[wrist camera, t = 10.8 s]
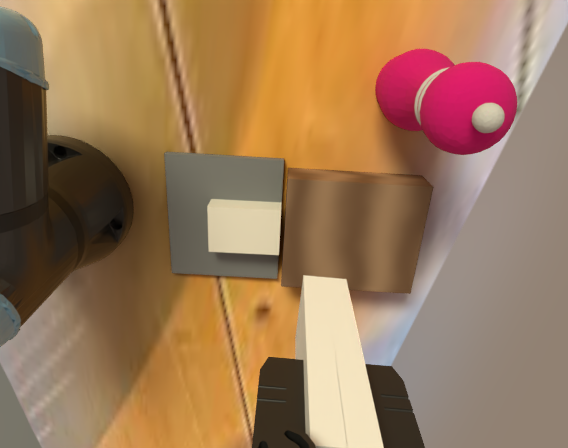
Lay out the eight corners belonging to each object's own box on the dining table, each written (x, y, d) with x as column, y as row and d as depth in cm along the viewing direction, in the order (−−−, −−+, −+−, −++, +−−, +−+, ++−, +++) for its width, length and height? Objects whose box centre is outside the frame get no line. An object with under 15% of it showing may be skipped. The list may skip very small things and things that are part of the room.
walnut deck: (281, 268, 51) (281, 286, 47) (288, 167, 46) (288, 178, 42) (401, 275, 51) (410, 293, 48) (421, 175, 46) (433, 187, 42)
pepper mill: (437, 120, 43) (545, 177, 25) (369, 123, 44) (426, 182, 25) (444, 45, 41) (572, 49, 22) (371, 50, 41) (437, 57, 22)
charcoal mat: (173, 269, 51) (171, 272, 51) (166, 151, 45) (164, 153, 44) (277, 275, 51) (277, 278, 51) (284, 158, 45) (284, 160, 45)
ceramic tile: (212, 242, 49) (208, 251, 47) (211, 198, 47) (207, 206, 44) (279, 245, 49) (278, 255, 47) (281, 202, 47) (281, 210, 44)
